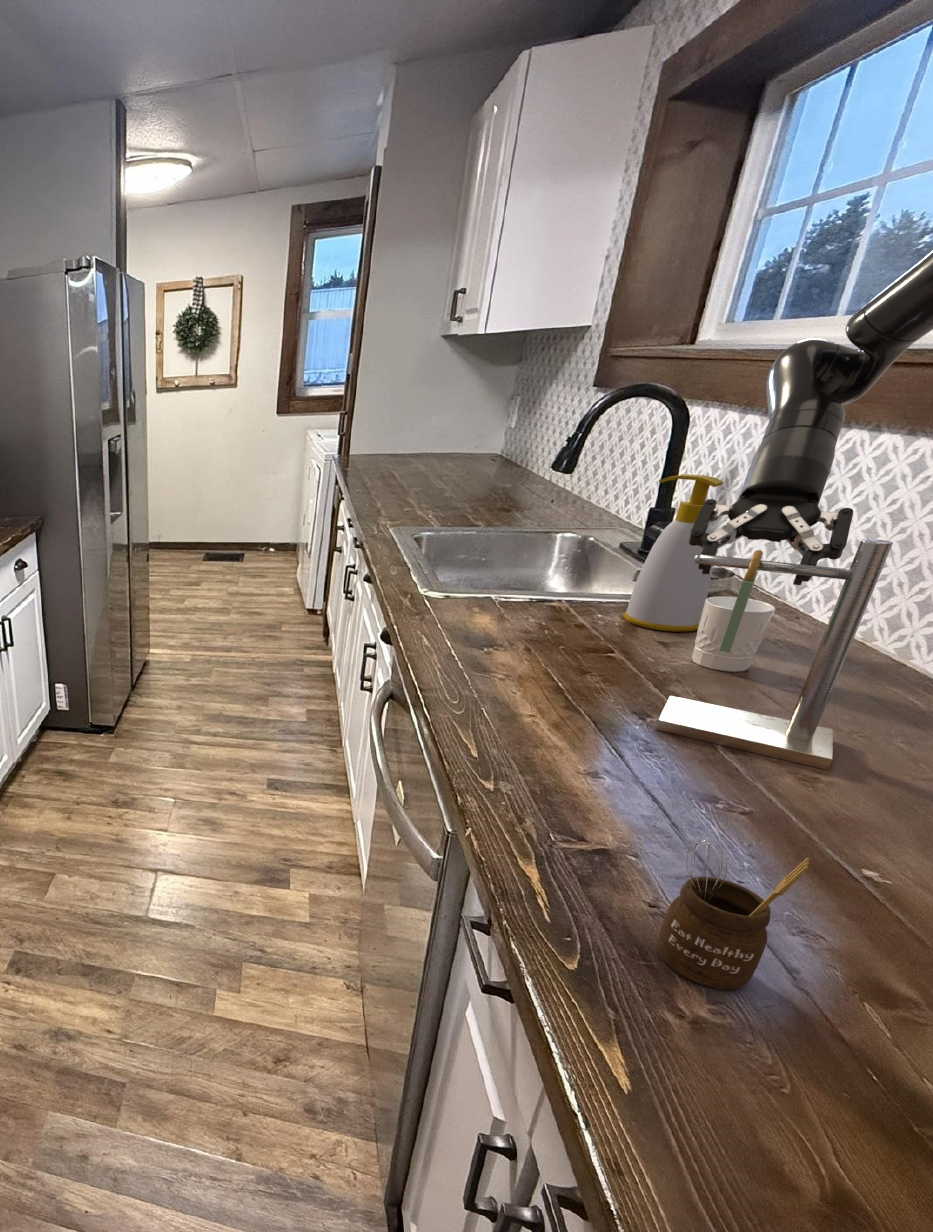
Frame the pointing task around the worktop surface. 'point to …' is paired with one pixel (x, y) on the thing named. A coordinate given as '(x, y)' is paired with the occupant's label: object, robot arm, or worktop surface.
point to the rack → (802, 732)
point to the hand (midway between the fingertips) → (750, 576)
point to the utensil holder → (718, 928)
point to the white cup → (715, 628)
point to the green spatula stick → (741, 602)
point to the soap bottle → (674, 571)
